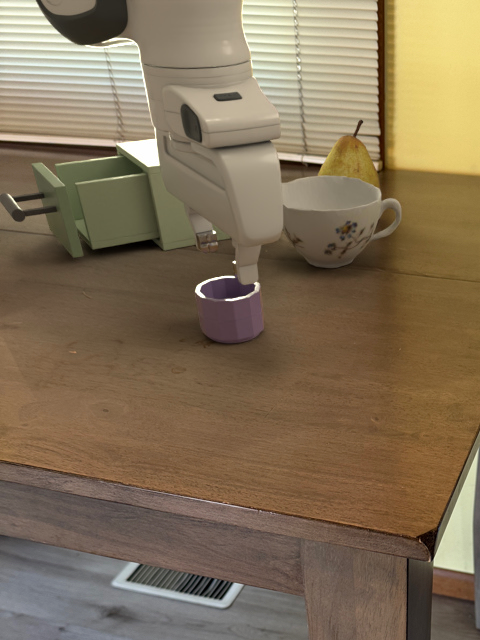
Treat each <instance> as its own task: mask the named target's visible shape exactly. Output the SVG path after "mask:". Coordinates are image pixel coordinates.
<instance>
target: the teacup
mask: <svg viewBox="0 0 480 640" xmlns="http://www.w3.org/2000/svg"><path fill="white" fill-rule="evenodd" d="M281 183H282V198H283V229H282V231H283V233H284V235H285V237H286V239H287V240H288V241H289V243H290V244H291V246H292V247H293V248H294V249H295V250H296V251H297V252H298V253H299V254H300V255H301V256H302V257H303V258H304V260H305V261H306V262H307V263H308V264H309V265H311V266H314V267H317V268H325V269H336V268H340V267H344V266H347V265H349V264H351V263H353V261H354V260H355V258H356V257H357V256H359V255H360V254H361V252H363V250H364V249H365V248H366V247H367V245H368V244H369V243H370V242H373V241H378V240H379V239H383V238H385V237H388V236H390V235H392V233H393V232H394V231H395V230H396V229H398V227H399V225H400V223H401V222H402V205H401V203H400V202H399V201H398V200H397V199H396V198H394V197H393V198H392V197H389V198H386V199H383V200H382V191H381V188H380V189H379V188H377V187H374V186H373V185H371V184H369V183H367V182H364V181H362V180H360V179H358V178H348V177H346V176H326V175H325V176H318V175H313V176H307V177H300V178H299V177H298V178H296V179H293V180H290V181H288V182H281ZM388 209H391V210H393V211H394V213H395V220H394V221H393V222H392V223H391V224H390V225H389V226H387V227H386V228H384V229H383V230H379V231H378V232H375V231H376V228H377V225H378V222H379V219H381V217H382V216H383V213H384V212H385V211H386V210H388Z"/></svg>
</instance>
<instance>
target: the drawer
mask: <svg viewBox="0 0 480 640" xmlns="http://www.w3.org/2000/svg"><path fill="white" fill-rule="evenodd" d="M30 165H31V169H32V172H33V175H34V179H35V182H36V185H37V189H38V192H33V193H25V194H17V195H13V196H11V194H9V193H8V192H7V193H6V192H4V193H1V194H0V203H1V205H2V206H3V208H4V209H5V210H6V211H7V213H8V214H9V216H10V217H11V218H12V219H13V221H14V222H17V223H22V222H23V221H25V219H26V218H27V217H32V216H39V215H45V217H46V222H47V225H48V228H49V231H50V232H52V234H53V236H54V237H55V238H56V239H57V240H58V241H59V242H60V244H61V245H62V246H63V247H64V248H65V250H66V251H67V252H68V253H69V254H70V255H71V256H72V258H74V259H75V258H81V257H84V256H85V255H84V251H83V248H82V244H81V240H80V237H81V238H82V240H83V241H84V242H85V243H86V244H87V245H88V246H89V247H90V249H92V250H98V249H103V248H110V247H115V246H120V245H126V244H131V243H136V242H137V243H138V242H143V241H148V240H152V239H154V238H160V235H159V230H158V225H157V220H156V215H155V210H154V204H153V199H152V194H151V189H150V184H149V179H148V173H147V172H146V171H144V170H143V169H142V168H140V167H139V166H138V165H136V164H135V163H134V162H132V161H131V160H130V159H128V158H127V157H125V156H124V155H121V156H118V155H115V156H114V155H113V156H105V157H98V158H91V159H83V160H82V159H81V160H75V161H68V162H60V163H55V164H54V167H55V171H56V174H57V175H55V174H54V173H53V172H52V171H51V170H50V169H49V168H48V167H46V166H45V164H44V163H42V162H32V163H31V164H30ZM35 200H40V201H41V203H42V204H41V205H42V206H41V207H34V208H29V209H27V208H26V209H22V208H21V207H20V206H19V204H18V203H22V202H29V201H35Z"/></svg>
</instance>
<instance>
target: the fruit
mask: <svg viewBox="0 0 480 640" xmlns="http://www.w3.org/2000/svg"><path fill="white" fill-rule="evenodd" d="M363 123H364V121H363V120H362V119H359V120H358V122H357V125H356V128H355V130H354V133H353V135H351V134H346V135H345V134H344V135H342V136H341V137H339V138H338V139H337V141H336V142H335V143H334V145H333V146H332V148H331V149H330V151H329V153H328V154H327V156H326V158H325V160H324V162H323V163H322V165H321V167H320V169H319V171H318V173H317V176H325V175H326V176H346V177H348V178H358V179H360V180H362V181H364V182H367V183H369V184H371V185H373V186H374V187H377V188H379V189H380V190H381V183H380V177H379V174H378V171H377V168H376V166H375V164H374V162H373V159H372V158H371V155H370V153H369V151H368V148H367V147H366V145H365V144H364V142H362V140H360V139H359V138H358V137H357V135H358V133H359V131H360V129H361V127H362V125H363Z"/></svg>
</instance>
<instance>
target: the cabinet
mask: <svg viewBox="0 0 480 640" xmlns="http://www.w3.org/2000/svg"><path fill="white" fill-rule="evenodd" d="M115 148H116V153H117V156H121V155H124V156H125V157H127V158H128V159H130V160H131V161H132V162H134V163H135V164H136V165H138V166H139V167H140V168H142V169H143V170H144V171H146V172H147V173H148V179H149V184H150V189H151V194H152V199H153V204H154V210H155V215H156V220H157V225H158V230H159V235H160V238H154V239H151V240H152V241H153V242H154V243H155V244H156V245H157V246H158V247H159V248H160V249H162V250H163V251H164V252H165V251H170V250H175V249H181V248H187V247H191V246H196V243H195V237H194V231H193V230H192V227H191V225H190V222H189V220H188V217H187V215H186V212H185V208H184V203H183V202H182V201H180V200H179V199H178V198H176V197H175V196H173V195H172V194H171V193H169V192H168V191H167V189H166V187H165V185H164V182H163V179H162V176H161V170H160V164H159V157H158V151H157V143H156V138H151V139H143V140H142V139H141V140H135V141H126V142H118V143H115ZM212 227H213V231H215V232H216V234H217V242H219V241H223V240H229V239H232V238H231V237H230V236H228V235H227V234H225V233H224V232H223V231H221V230H220V229H219V228H217V227H216V226H214V225H213V224H212Z"/></svg>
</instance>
